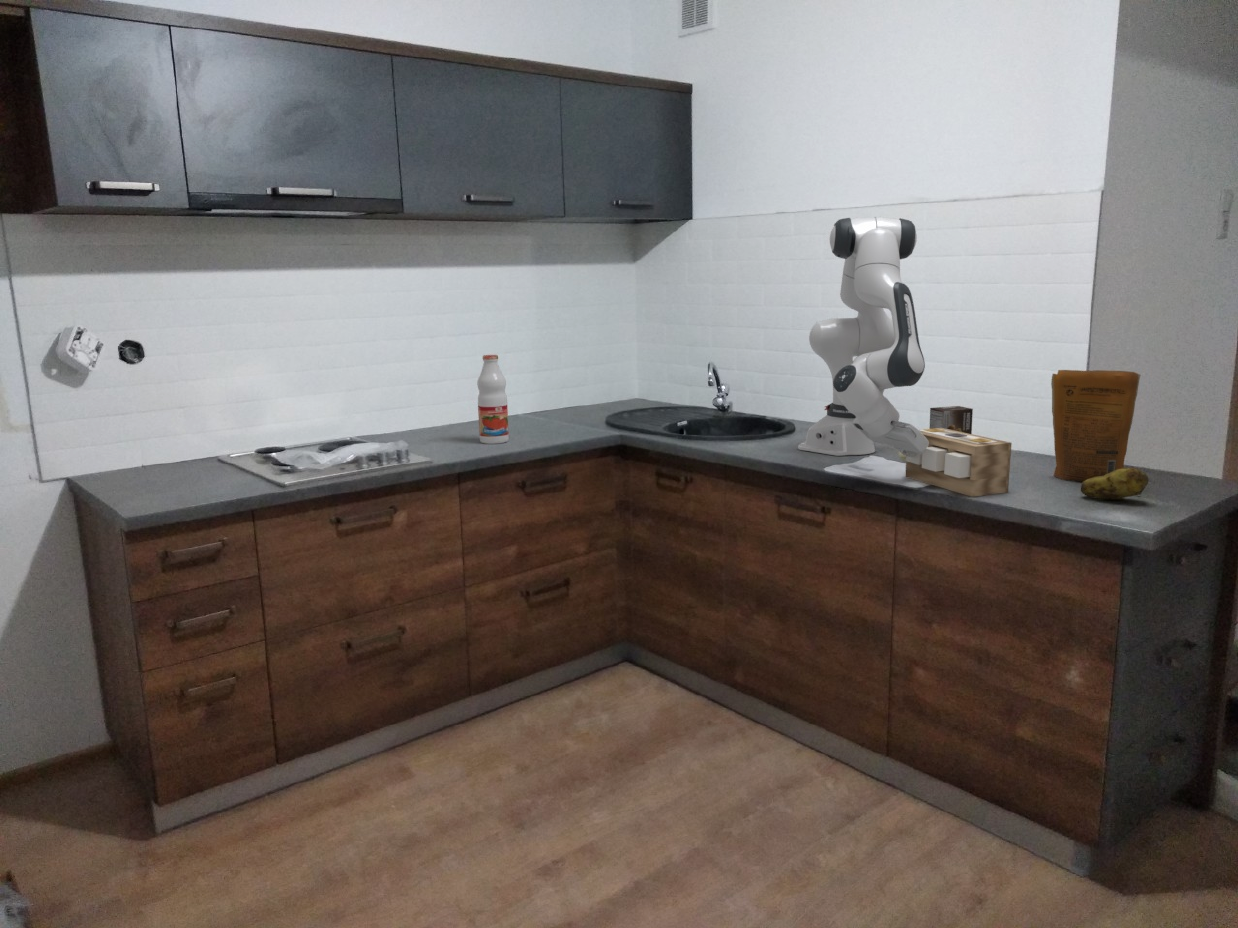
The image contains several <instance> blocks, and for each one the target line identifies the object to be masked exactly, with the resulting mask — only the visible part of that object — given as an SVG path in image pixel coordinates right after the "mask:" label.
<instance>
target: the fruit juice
mask: <svg viewBox="0 0 1238 928" xmlns="http://www.w3.org/2000/svg"><path fill="white" fill-rule="evenodd" d="M482 361H483V365H482V368H481V371H480V375H479V376H478V379H477V389H478V392H479V394H478V396H477V411H478V413H477V414H478V431H479V442H480V443H482V444H486V445H487V444H488V445H492V444H493V445H496V444H498V445H499V444H503V443H507V442H508V441H509V439H510V437H509V415H508V414H509V412H508V409H509V408H508V398H507V394H506V386H507V380H506V378H505V377H504V375H503V373H502V370H501V368H500V366H499V363H498V362H499V356H498V354H486V355H485V354H484V355H482Z"/></svg>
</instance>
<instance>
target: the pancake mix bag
mask: <svg viewBox="0 0 1238 928" xmlns="http://www.w3.org/2000/svg"><path fill="white" fill-rule="evenodd" d="M1140 378H1141V374H1139V373H1137V372H1135V371H1128V370H1104V369H1103V370H1099V369H1098V370H1096V369H1095V370H1077V369H1075V370H1074V369H1073V370H1072V369H1058V370H1057V373H1052V375H1051V380H1050V381H1051V382H1050V385H1051V414H1052V426H1053V428H1052V429H1053V440H1054V441H1053V442H1054V454H1055V456H1054V457H1055V464H1056V465H1055V468H1054V472H1053V476H1054V477H1056V478H1057V477H1058V478H1057V479H1059V478H1060V479H1059V480H1062V479H1063V480H1064V481H1069V482H1070V481H1071V482H1080V483H1083V482H1084V481H1085V480H1087V479H1090V478H1094V477H1098V476H1104V475H1106V474H1108V473H1110V472H1113V471H1115V470H1117V469H1121V468H1125V467H1124V466H1125V465H1124V464H1125V458H1126V455H1127V451H1128V443H1129V436H1130V431H1131V428H1132V426H1133V425H1132V424H1133V418H1134V414H1135V407H1136V400H1137V396H1138V392H1139V386H1140Z"/></svg>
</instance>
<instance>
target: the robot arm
mask: <svg viewBox="0 0 1238 928" xmlns="http://www.w3.org/2000/svg"><path fill="white" fill-rule="evenodd" d="M917 236H918V234H917V230H916V226H915V224H914V223H913V221H912V220H909V219H904V218H901V217H900V218H899V219H897V218H891V217H884V216H883V217H881V216H874V217H856V218H851V217H844V218H841V219H838V220H837V221H836V222H834V224H833V227H832V229H831V231H830V234H829V245H830V246H829V247H830V248H831V253H832V254H833V255H834V256H835V257H837V258H838V259H844V263H843V269H842V277H841V285H840V291H839V292H840V293H839V295H840V299H841V301H842V302H843V304H844V305H845V306H846V307H848V308H850V309H852V310H854V311H855V312H857V317H843V318H838V317H836V318H828V319H823V320H819V321H816V323H815V324H814V325H813V326H812V327H811V329H810V332H809V336H808V337H809V338H808V339H809V340H808V341H809V345H810V347H811V350H812V351H813V352H814V353H815V354H816V355H818V357H820V358H821V359H822V360H823V361H824V363H825V364H826V365H827V367H828V369H829V371H830V374H831V378H832V402H831V403H829V404H827V405H826V406H824V411H826V415H825V416H823V417H822V418H821V419H819V420H818V421H817V422H815V423H814V424H813V425H811V426H810V427H809V428H808V430H807V433H806V437H805V441H803V442H801V443H799V444H798V446H797V449H798V450H799V451H807V452H812V453H819V454H824V455H831V456H836V457H837V456H838V457H839V456H840V457H841V456H858V455H859V456H861V455H868V454H873V453H875V452H876V447H875V444H874V442H875V443H878V444H883V445H885V446H889V447H892V448H894V449H896V450H898V451H899V452H900V453H901V454H902V455H903V456H905V457H906V456H909V457H913V456H914V455H915V454H916V453H919V454H921V453H923V452H924V450H925V449H926V448H927V447H928V445H929V441H928V440H927V438H926V437H925V436H924V435H923V434H922V433H921V432H920V431H919V430H920V429H918V428H917V427H915V426H914V425H912V424H911V423H907V422H902V421H899V420H900V412H899V411H898V410H897V408H896V407H894V405H893V404H892V403H891V402H890V400H889V399H888V398H887V397H886V396H884V392H885V390H888V389H893V388H897V387H898V388H903V387H911V386H915V385H916V384H917V383H918V382H919V381H920V379H921V378H922V376H923V375H924V372H925V369H926V366H925V365H926V363H925V358H924V354H923V352H922V348H921V346H920V345H921V344H920V339H919V331H918V325H917V320H916V319H917V318H916V311H915V305H914V298H913V295H912V292H911V290H910V288H909V287H908V285H906V284H905V283H903V282H902V279H901V260H904V259H907V258H908V257H910V256H911V255H912V254H913V252H914V249H915V247H916V245H917V239H918V237H917ZM884 309H887V310H889V311H890V313H891V314H890V315H891V318H890V317H889V315H888V314H887V312H885V310H884ZM854 357H855V358H854Z"/></svg>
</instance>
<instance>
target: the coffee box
mask: <svg viewBox="0 0 1238 928" xmlns="http://www.w3.org/2000/svg"><path fill="white" fill-rule="evenodd" d="M973 410H974V408H971V407H965V406H961V405H956V406H955V405H953V406H941V407H940V406H939V407H930V409H929V428H928V429H933V428H945V429H950V430H954V431H959V432H964V433H968V434H973V432H972V431H973V412H974V411H973Z"/></svg>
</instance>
